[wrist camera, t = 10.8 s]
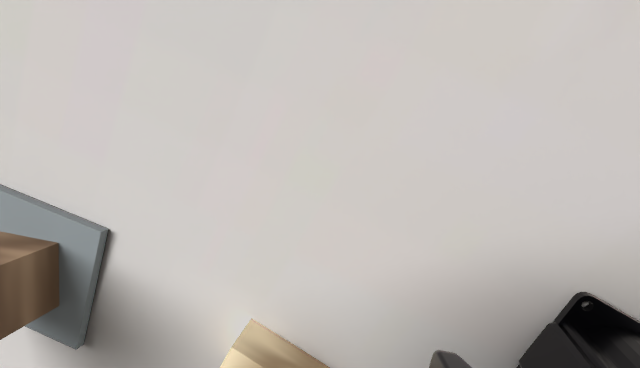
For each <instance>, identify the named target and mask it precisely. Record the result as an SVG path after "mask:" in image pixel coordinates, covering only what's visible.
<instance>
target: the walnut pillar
mask: <svg viewBox="0 0 640 368" xmlns="http://www.w3.org/2000/svg"><path fill="white" fill-rule="evenodd" d="M58 306H59V243H57V242H52V241H47V240H42V239H37V238H31V237H26V236H21V235H16V234H11V233H6V232H1V231H0V340H1V339H2V338H4V337H6V336H8V335H9V334H11V333H13V332H15V331H16V330H18V329H20V328H22V327H23V326H25V325H27V324H29V323H30V322H32V321H34V320H36V319H37V318H39V317H41V316H43V315H44V314H46V313H48V312H50V311H51V310H53V309H55V308H56V307H58Z"/></svg>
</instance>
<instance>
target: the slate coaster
mask: <svg viewBox="0 0 640 368" xmlns="http://www.w3.org/2000/svg"><path fill="white" fill-rule="evenodd" d="M0 231H1V232H6V233H11V234H16V235H21V236H26V237H31V238H37V239H42V240H47V241H52V242H57V243H59V306H58V307H56V308H55V309H53V310H51V311H50V312H48V313H46V314H44V315H43V316H41V317H39V318H37V319H36V320H34V321H32V322H30V323H29V324H27V325H25V327H28V328H30V329H32V330H34V331H36V332H39V333H41V334H43V335H45V336H47V337H50V338H52V339H54V340H56V341H58V342H61V343H63V344H65V345H67V346H69V347H72V348H74V349H78V348H79V347H80V346H82V345H83V344H84V340H85V335H86V331H87V326H88V321H89V317H90V312H91V307H92V303H93V298H94V294H95V289H96V284H97V280H98V275H99V270H100V266H101V261H102V257H103V252H104V247H105V243H106V238H107V233H108V228H105V227H103V226H100V225H98V224H95V223H93V222H90V221H88V220H86V219H83V218H81V217H78V216H76V215H73V214H71V213H69V212H66V211H64V210H61V209H59V208H56V207H54V206H51V205H49V204H47V203H44V202H42V201H39V200H37V199H34V198H32V197H30V196H27V195H25V194H22V193H20V192H17V191H15V190H12V189H10V188H8V187H5V186H3V185H0Z"/></svg>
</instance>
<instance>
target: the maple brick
mask: <svg viewBox="0 0 640 368" xmlns="http://www.w3.org/2000/svg"><path fill="white" fill-rule="evenodd" d="M220 368H330V367H328V366H327V365H325V364H323V363H322V362H320V361H319V360H317V359H315V358H314V357H312V356H311V355H309V354H307V353H306V352H304V351H303V350H301V349H299V348H298V347H296V346H295V345H293V344H292V343H290V342H288V341H287V340H285V339H284V338H282V337H280V336H279V335H277V334H276V333H274V332H272V331H271V330H269V329H268V328H266V327H264V326H263V325H261V324H260V323H258V322H256V321H255V320H253V319H252V318H251V320H250V321H249V323H248V324H247V326H246V327H245V328H244V330H243V331H242V333H241V334H240V336H239V337H238V338H237V340H236V341H235V343H234V344H233V346H232V347H231V349H230V351H229V352H228V354H227V356H226V358H225V359H224V361H223V363H222V365H221V366H220Z"/></svg>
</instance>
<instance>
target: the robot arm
mask: <svg viewBox="0 0 640 368" xmlns="http://www.w3.org/2000/svg"><path fill="white" fill-rule="evenodd" d="M584 301H589V304H588V305H587V306H586V307H581V305H582V303H583V302H584ZM519 363H520V364H519V365H518V366H517V368H640V322H639V321H637V320H636V319H634V318H632V317H630V316H629V315H627V314H625V313H623V312H622V311H620V310H618V309H616V308H615V307H613V306H611V305H609V304H608V303H606V302H604V301H602V300H601V299H599V298H597V297H595V296H594V295H592V294H590V293H587V292H580V293H577V294H576V295H575V296H573V298H572V299H571V300H570V301H569V303H568V304H567V305H566V306H565V308H564V309H563V310H562V311H561V313H560V314H559V315H558V316H557V318H556V319H555V320H554V321H553V322H552V323H550V324H548V325H547V326H546V328H545V329H544V330H543V331H542V333H541V334H540V335H539V336H538V338H537V339H536V340H535V341H534V343H533V344H532V345H531V346H530V348H529V349H528V350H527V351H526V353H525V354H524V355H523V356H522V358H521V359H520V360H519ZM429 368H472V367H471V366H469V365H468V364H467V363H466V362H465V361H464V360H463V359H462V358H461V357H460V356H458V355H457V354H455V353H452V352H446V351H440V350H437V351H435V352H434V354H433V356H432V359H431V363H430V366H429Z"/></svg>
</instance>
